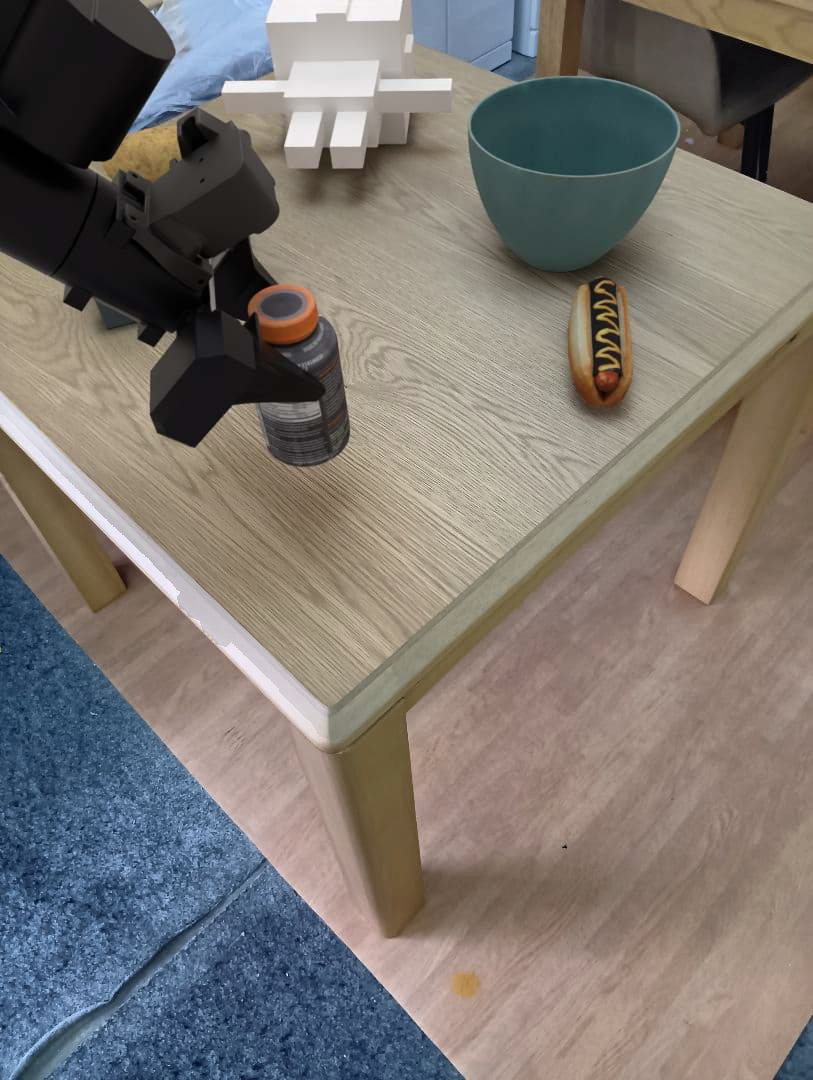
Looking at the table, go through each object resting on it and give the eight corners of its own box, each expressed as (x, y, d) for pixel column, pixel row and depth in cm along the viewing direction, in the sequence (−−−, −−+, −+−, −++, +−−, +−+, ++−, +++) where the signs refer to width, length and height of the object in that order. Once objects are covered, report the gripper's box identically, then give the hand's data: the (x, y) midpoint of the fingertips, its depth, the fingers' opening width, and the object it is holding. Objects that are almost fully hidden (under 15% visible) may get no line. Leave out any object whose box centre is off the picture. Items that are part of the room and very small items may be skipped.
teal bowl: (519, 181, 86) (528, 59, 76) (680, 226, 79) (712, 99, 69) (431, 268, 77) (428, 143, 67) (604, 327, 70) (628, 198, 61)
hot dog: (565, 420, 64) (572, 373, 60) (563, 316, 72) (570, 268, 68) (627, 423, 63) (639, 376, 59) (619, 318, 71) (629, 270, 67)
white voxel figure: (222, 220, 87) (265, 83, 102) (446, 221, 85) (458, 81, 100) (183, 84, 75) (239, -49, 89) (445, 81, 72) (458, -55, 87)
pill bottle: (312, 396, 57) (288, 259, 48) (368, 436, 55) (354, 299, 46) (248, 440, 55) (209, 304, 46) (303, 484, 52) (274, 349, 43)
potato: (209, 200, 86) (194, 143, 81) (108, 208, 86) (87, 151, 81) (214, 168, 90) (200, 112, 85) (118, 176, 90) (98, 120, 85)
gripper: (151, 200, 30) (434, 377, 40) (153, 12, 41) (375, 186, 51) (27, 387, 36) (302, 501, 46) (58, 177, 47) (274, 305, 57)
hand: (316, 361), depth 50 cm, fingers closed on pill bottle, 6 cm apart
